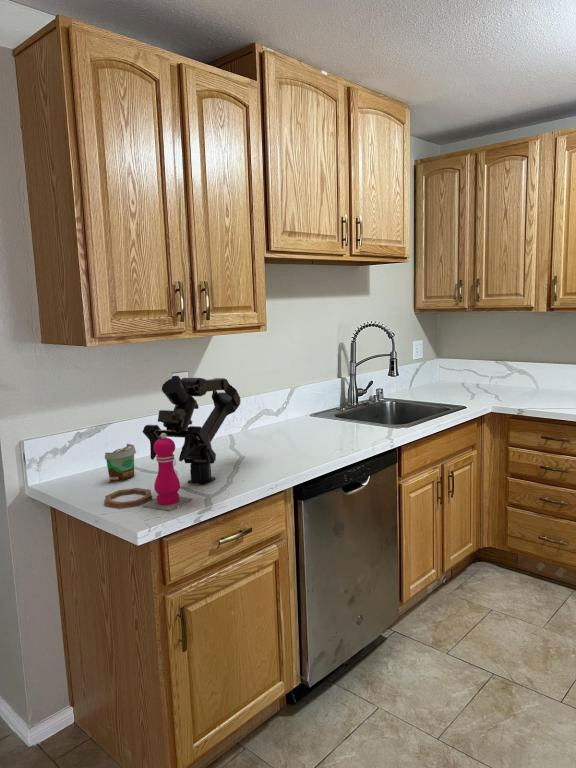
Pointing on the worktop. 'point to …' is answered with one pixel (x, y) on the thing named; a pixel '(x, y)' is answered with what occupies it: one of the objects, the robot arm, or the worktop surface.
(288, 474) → the worktop surface
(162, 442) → the pepper mill
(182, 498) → the slate mat
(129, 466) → the food container
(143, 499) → the walnut holder ring
